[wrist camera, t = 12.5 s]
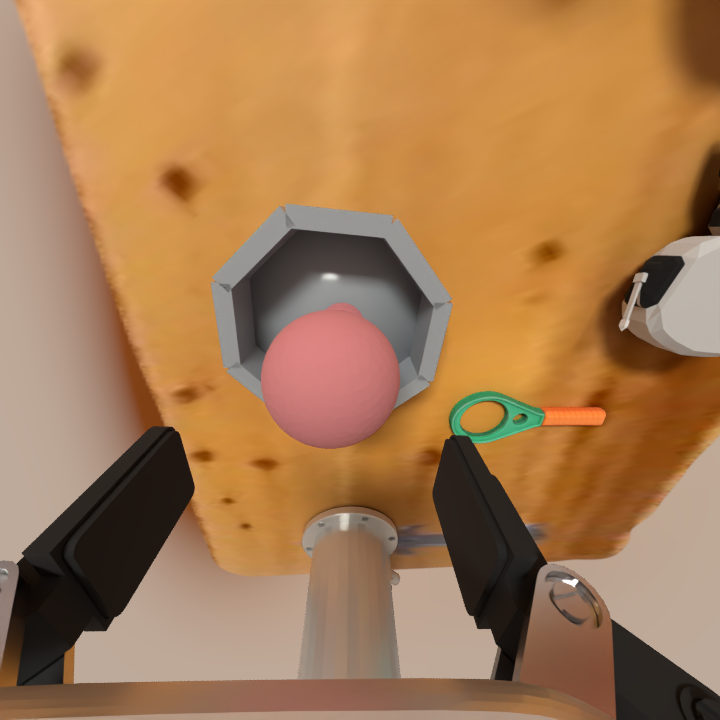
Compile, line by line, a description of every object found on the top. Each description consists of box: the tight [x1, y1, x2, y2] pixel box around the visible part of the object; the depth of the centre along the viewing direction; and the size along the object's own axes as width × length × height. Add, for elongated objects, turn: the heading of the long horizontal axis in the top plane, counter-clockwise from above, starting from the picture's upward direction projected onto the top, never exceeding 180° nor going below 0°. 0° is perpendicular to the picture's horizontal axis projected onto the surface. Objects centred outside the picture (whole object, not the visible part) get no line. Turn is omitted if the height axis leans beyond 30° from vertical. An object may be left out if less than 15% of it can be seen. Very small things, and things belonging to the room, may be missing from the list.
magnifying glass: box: [449, 391, 606, 443], centre depth 28 cm, size 15×6×2 cm, turn 91°
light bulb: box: [261, 303, 400, 449], centre depth 17 cm, size 7×7×12 cm
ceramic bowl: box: [211, 204, 453, 409], centre depth 21 cm, size 15×15×4 cm
